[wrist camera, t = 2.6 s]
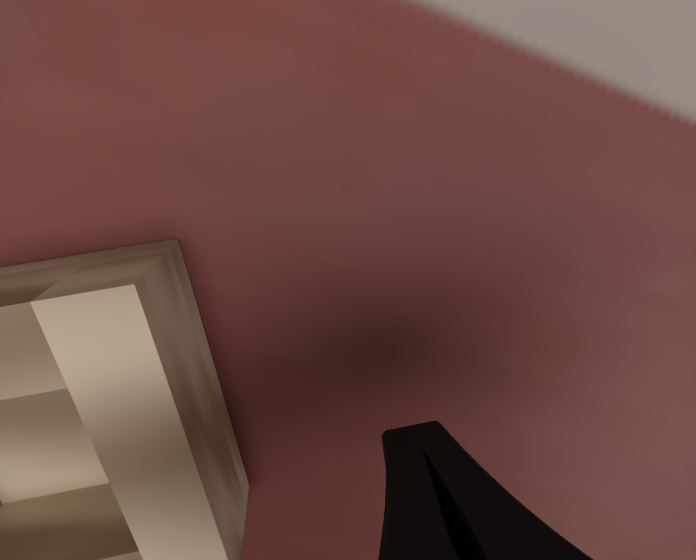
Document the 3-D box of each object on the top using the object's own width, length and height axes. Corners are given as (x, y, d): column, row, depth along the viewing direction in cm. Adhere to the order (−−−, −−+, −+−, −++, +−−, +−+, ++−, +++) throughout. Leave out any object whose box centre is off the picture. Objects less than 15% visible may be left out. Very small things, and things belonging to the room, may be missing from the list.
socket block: (249, 484, 17) (237, 587, 13) (-18, 538, 16) (-109, 663, 13) (177, 238, 13) (134, 284, 10) (-168, 295, 13) (-354, 367, 9)
